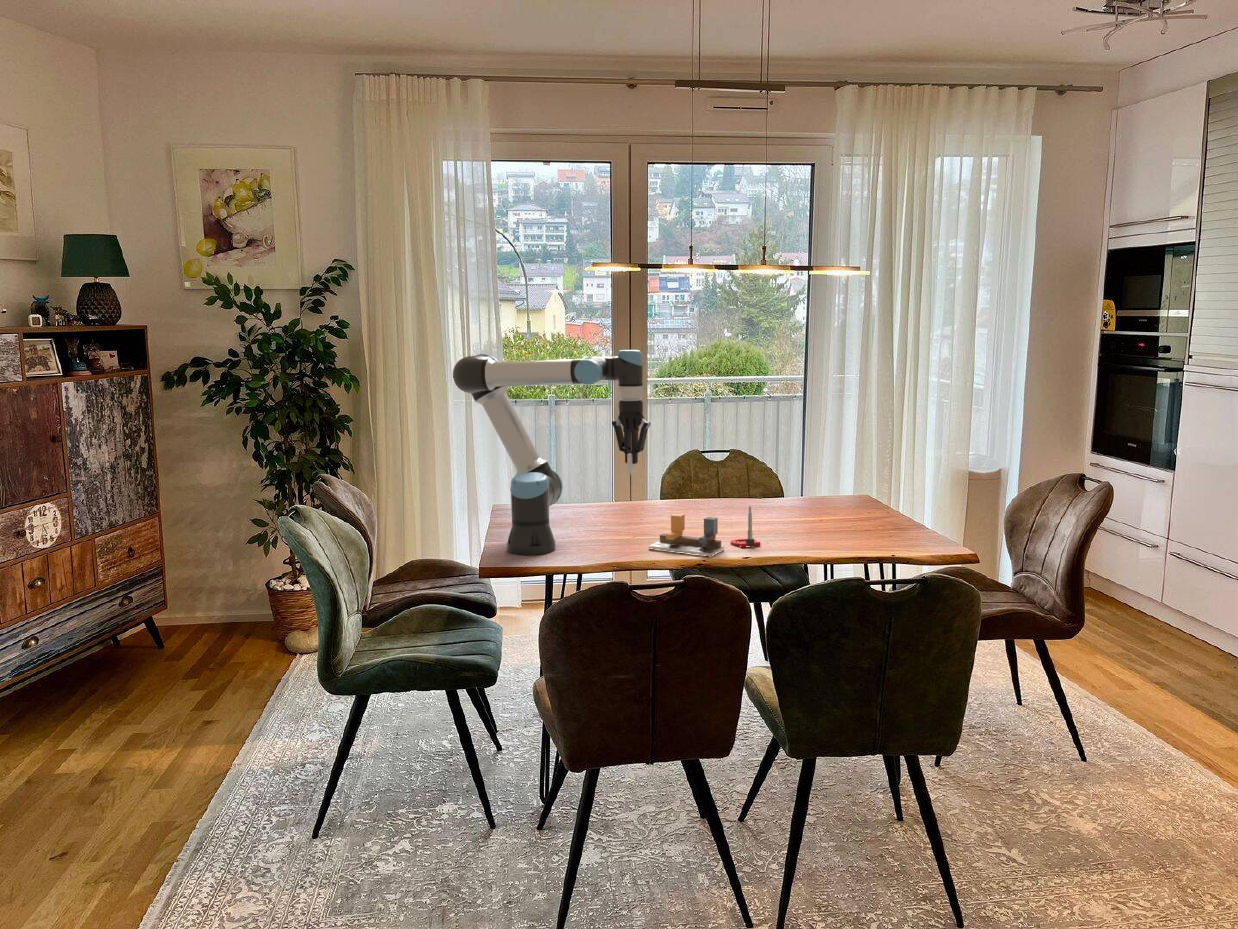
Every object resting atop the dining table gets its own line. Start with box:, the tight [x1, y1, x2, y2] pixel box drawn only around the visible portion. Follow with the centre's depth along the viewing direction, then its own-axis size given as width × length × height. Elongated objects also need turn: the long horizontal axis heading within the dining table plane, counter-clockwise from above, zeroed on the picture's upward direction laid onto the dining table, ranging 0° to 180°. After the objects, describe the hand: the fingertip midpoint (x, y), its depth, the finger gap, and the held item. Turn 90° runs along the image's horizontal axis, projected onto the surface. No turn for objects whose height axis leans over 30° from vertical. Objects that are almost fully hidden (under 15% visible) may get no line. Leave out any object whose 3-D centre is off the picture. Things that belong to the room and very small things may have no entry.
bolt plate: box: [647, 533, 725, 557], centre depth 289 cm, size 10×21×3 cm, turn 61°
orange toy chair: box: [665, 513, 686, 545], centre depth 291 cm, size 8×3×8 cm, turn 151°
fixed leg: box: [698, 516, 719, 549], centre depth 286 cm, size 8×3×8 cm, turn 151°
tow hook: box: [730, 506, 761, 548], centre depth 295 cm, size 8×13×9 cm
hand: (631, 473), depth 296 cm, fingers closed
